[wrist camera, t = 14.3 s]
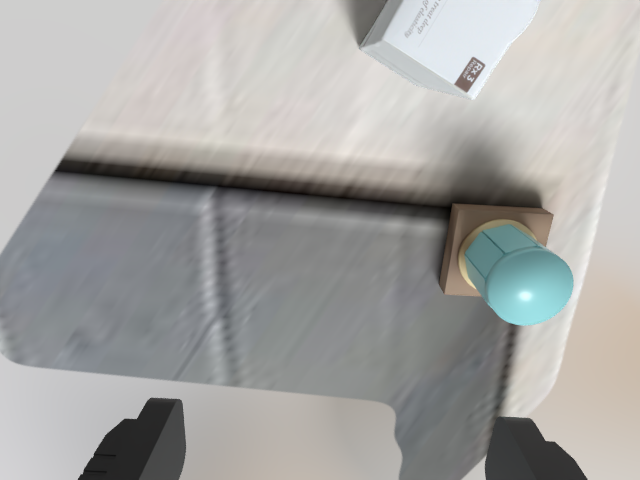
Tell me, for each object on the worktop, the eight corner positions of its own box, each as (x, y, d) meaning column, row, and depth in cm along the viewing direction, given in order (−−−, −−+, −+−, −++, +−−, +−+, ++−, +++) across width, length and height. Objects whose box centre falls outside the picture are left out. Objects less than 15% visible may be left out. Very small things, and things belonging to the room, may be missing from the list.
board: (452, 203, 37) (474, 224, 32) (542, 208, 37) (580, 230, 32) (438, 284, 40) (457, 317, 35) (522, 289, 40) (554, 322, 35)
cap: (469, 295, 38) (494, 332, 32) (459, 234, 36) (484, 262, 30) (538, 280, 37) (576, 315, 32) (531, 217, 35) (570, 242, 30)
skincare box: (415, -54, 31) (486, -167, 17) (481, -7, 32) (601, -78, 18) (354, 54, 33) (374, 34, 20) (418, 95, 34) (479, 102, 20)
